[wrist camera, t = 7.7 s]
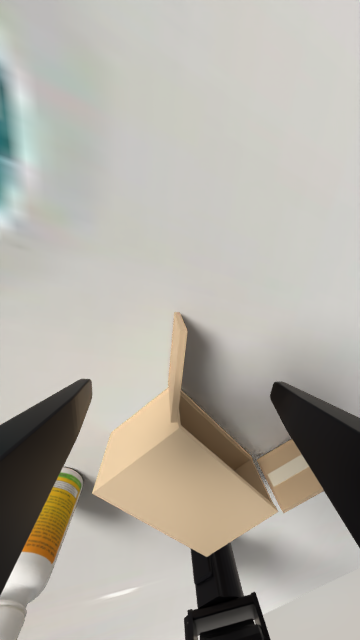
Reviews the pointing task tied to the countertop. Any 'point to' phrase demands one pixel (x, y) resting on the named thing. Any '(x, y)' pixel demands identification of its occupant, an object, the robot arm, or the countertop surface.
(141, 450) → the carton
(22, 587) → the supplement bottle
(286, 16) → the countertop surface
